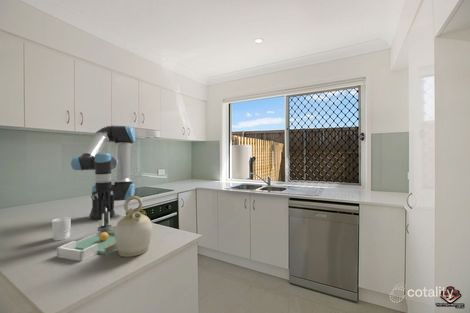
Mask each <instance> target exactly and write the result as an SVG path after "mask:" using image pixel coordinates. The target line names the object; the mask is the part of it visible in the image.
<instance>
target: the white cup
mask: <svg viewBox="0 0 470 313" xmlns="http://www.w3.org/2000/svg"><path fill="white" fill-rule="evenodd" d="M71 220H72V217H70V216H64V217H57V218H53V219H52V220H51V229H52V230H51V231H52V237H53V238H52V239H53V241H63V240H66V239H69V238H70V237H71V226H72V225H71V222H72V221H71Z"/></svg>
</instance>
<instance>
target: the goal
mask: <svg viewBox="0 0 470 313" xmlns="http://www.w3.org/2000/svg"><path fill="white" fill-rule="evenodd" d="M76 241H77V240H73V241H70V242H67V243H65V244H62V245H61V246H57V248H56V257H57V258H59V259H60V258H62V259H68V260H72V261H77V262H83V261H85V260H87V259H89V258H91V257H93V256H95V255H97V254H99V253H98V244H95V245H92V246H90V247H88V248H86V249H84V250H77V249H76Z"/></svg>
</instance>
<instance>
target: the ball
mask: <svg viewBox="0 0 470 313" xmlns="http://www.w3.org/2000/svg"><path fill="white" fill-rule="evenodd" d="M107 238H108V233H106V232H102V233H101V234H100V235H99V239H100V240H101V241H104V240H106V239H107Z"/></svg>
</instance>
